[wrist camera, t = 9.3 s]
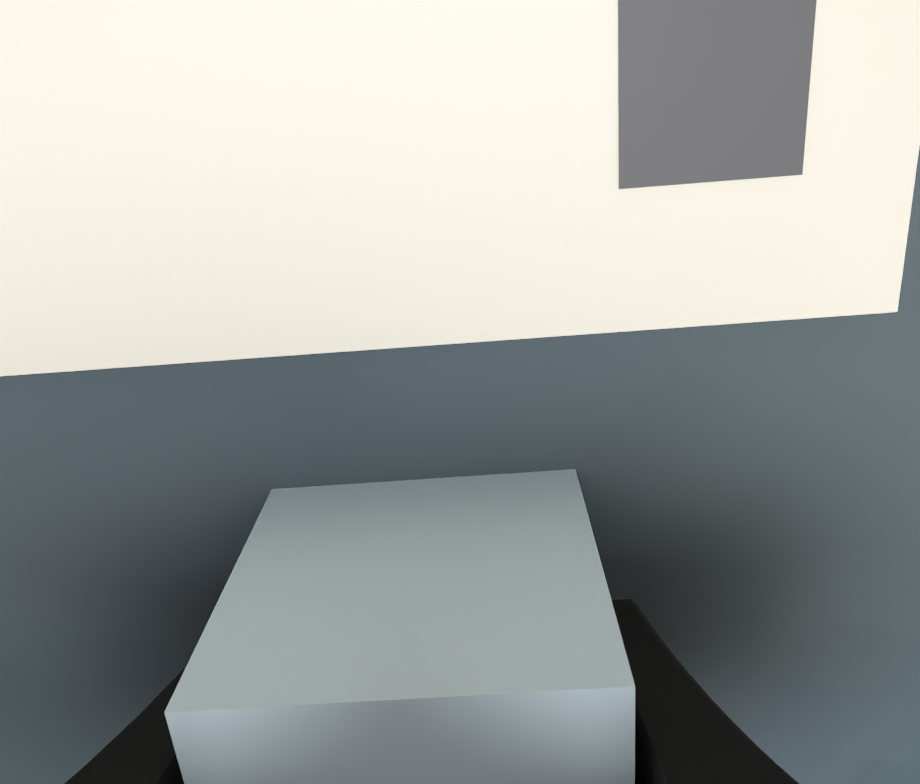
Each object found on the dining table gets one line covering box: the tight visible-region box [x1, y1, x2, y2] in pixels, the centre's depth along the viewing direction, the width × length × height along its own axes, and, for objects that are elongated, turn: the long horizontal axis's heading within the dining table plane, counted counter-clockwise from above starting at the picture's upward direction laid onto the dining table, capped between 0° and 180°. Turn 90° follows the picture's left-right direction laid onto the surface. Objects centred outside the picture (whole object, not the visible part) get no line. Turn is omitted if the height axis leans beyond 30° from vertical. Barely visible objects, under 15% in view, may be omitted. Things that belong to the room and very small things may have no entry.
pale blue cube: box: [164, 469, 635, 784], centre depth 11 cm, size 5×5×5 cm
